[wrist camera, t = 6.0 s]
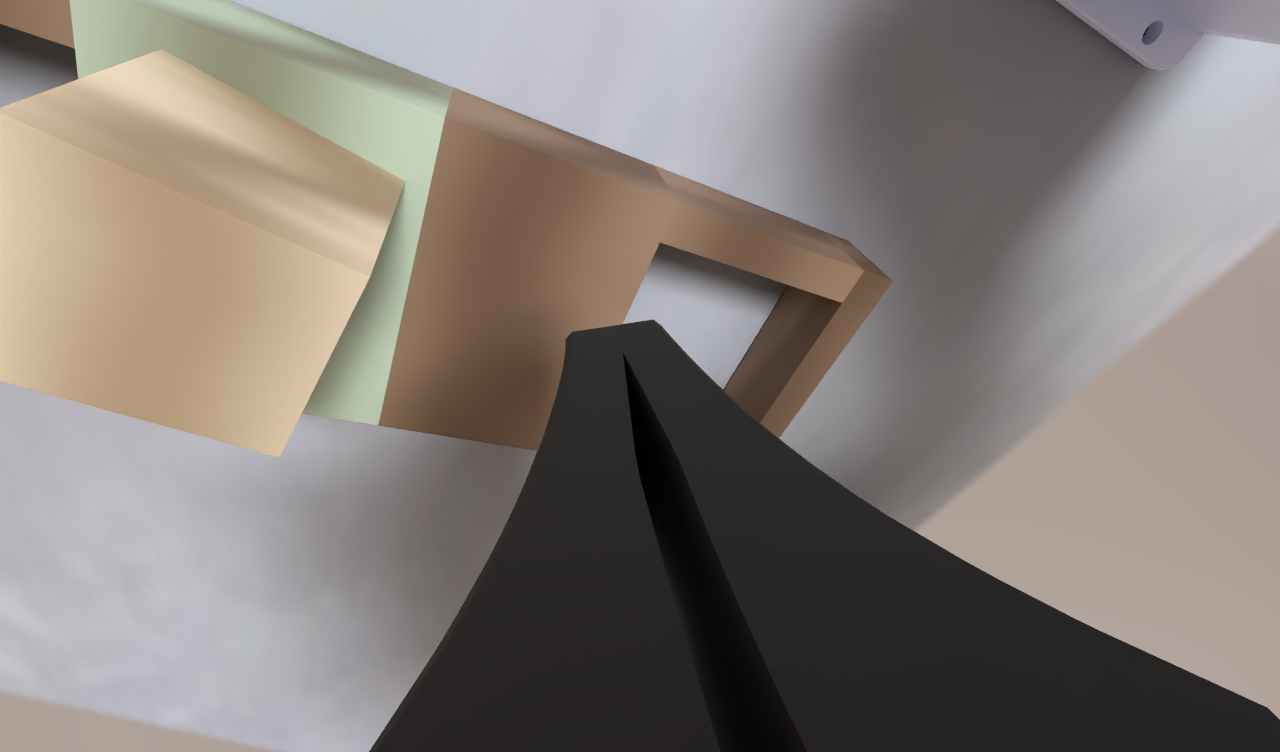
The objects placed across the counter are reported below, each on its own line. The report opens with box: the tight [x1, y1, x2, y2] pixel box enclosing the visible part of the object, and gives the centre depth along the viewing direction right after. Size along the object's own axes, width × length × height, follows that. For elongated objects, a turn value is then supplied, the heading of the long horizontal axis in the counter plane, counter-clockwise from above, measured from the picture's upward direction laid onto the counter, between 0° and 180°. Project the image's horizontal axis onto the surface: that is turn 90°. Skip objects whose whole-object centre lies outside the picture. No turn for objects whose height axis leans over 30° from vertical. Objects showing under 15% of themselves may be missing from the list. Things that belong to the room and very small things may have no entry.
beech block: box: [0, 49, 405, 457], centre depth 10 cm, size 4×4×4 cm
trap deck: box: [0, 0, 892, 451], centre depth 14 cm, size 20×8×2 cm, turn 66°
